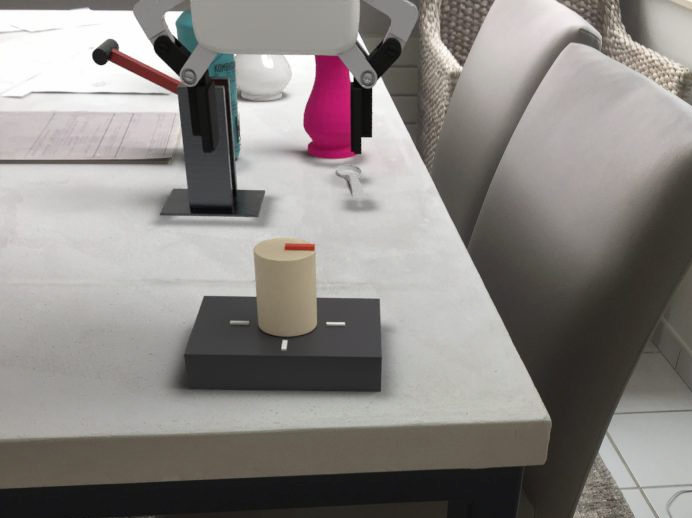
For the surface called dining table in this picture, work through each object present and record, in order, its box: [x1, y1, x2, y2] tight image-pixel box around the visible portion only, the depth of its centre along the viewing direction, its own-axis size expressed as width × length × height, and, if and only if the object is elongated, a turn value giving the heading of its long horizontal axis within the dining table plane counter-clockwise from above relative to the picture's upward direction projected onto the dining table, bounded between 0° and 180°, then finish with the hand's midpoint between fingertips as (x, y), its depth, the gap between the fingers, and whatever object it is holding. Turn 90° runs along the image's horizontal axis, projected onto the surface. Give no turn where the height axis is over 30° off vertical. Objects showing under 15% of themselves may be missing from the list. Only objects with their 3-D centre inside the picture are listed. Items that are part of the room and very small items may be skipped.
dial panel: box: [183, 295, 383, 393], centre depth 68 cm, size 14×10×3 cm
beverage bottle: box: [174, 8, 242, 159], centre depth 101 cm, size 6×7×20 cm
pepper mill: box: [302, 54, 358, 160], centre depth 105 cm, size 7×7×20 cm
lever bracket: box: [159, 76, 266, 218], centre depth 91 cm, size 10×8×13 cm
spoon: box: [335, 163, 367, 199], centre depth 101 cm, size 3×12×2 cm, turn 10°
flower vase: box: [234, 54, 293, 102], centre depth 129 cm, size 13×18×25 cm
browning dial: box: [253, 237, 318, 337], centre depth 65 cm, size 4×4×6 cm
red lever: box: [91, 38, 184, 96], centre depth 87 cm, size 12×5×2 cm, turn 91°
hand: (284, 148), depth 59 cm, fingers open, 9 cm apart
